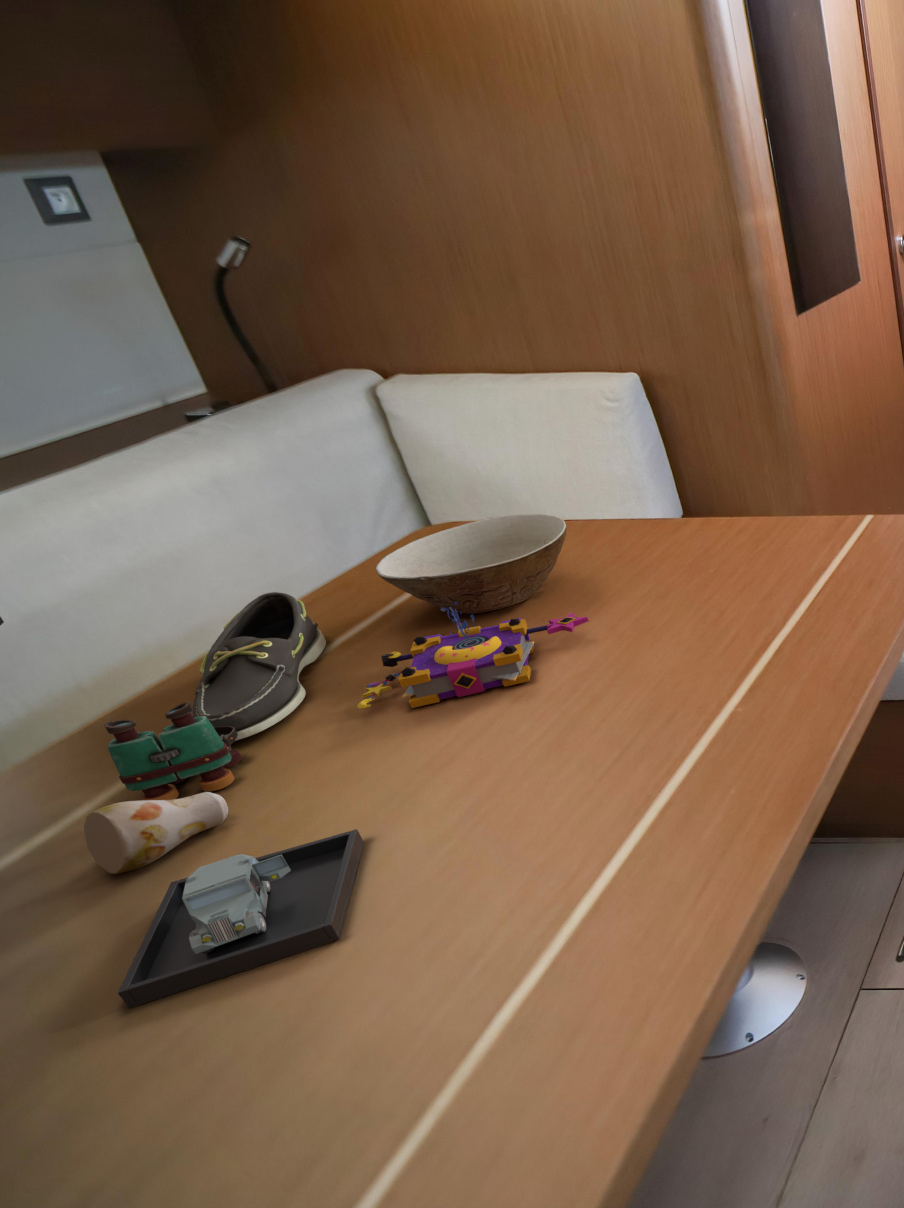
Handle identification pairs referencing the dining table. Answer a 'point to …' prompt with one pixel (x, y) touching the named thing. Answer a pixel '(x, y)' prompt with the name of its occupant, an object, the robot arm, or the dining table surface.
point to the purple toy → (466, 660)
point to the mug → (148, 828)
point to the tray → (293, 924)
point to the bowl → (478, 562)
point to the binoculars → (173, 754)
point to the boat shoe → (258, 665)
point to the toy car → (230, 899)
